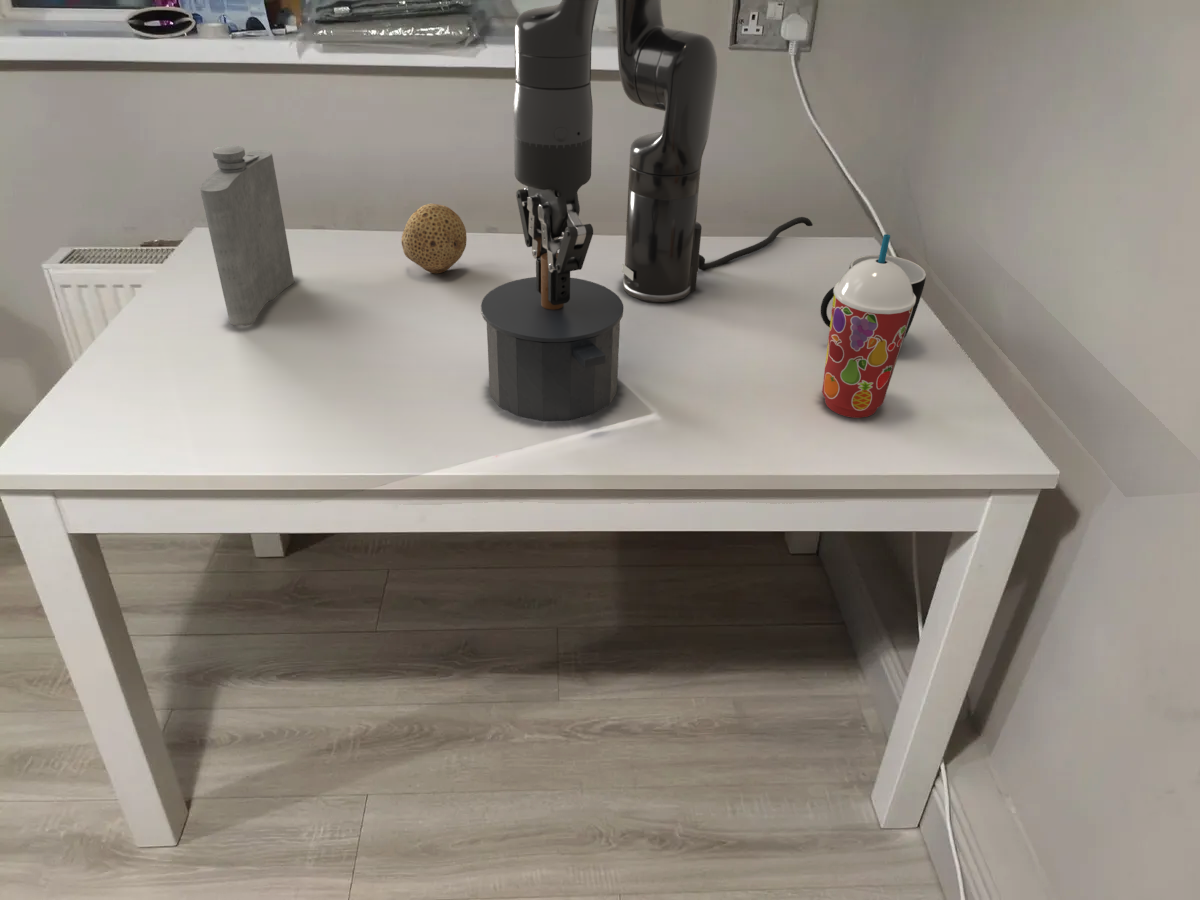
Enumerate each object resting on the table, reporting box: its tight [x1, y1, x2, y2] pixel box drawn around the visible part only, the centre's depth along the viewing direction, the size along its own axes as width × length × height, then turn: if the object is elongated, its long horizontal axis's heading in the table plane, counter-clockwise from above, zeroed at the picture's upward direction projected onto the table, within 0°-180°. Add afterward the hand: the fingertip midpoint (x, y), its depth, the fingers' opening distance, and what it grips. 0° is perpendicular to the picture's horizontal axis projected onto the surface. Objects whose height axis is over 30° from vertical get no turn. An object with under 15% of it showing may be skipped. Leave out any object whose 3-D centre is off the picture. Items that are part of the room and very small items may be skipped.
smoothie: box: [821, 233, 916, 419], centre depth 97 cm, size 8×8×20 cm
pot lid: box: [480, 252, 624, 342], centre depth 96 cm, size 15×15×7 cm
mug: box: [820, 254, 927, 341], centre depth 112 cm, size 12×9×10 cm
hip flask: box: [199, 144, 295, 327], centre depth 115 cm, size 16×4×20 cm, turn 175°
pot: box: [486, 320, 621, 422], centre depth 101 cm, size 14×20×10 cm
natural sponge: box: [400, 203, 468, 274], centre depth 126 cm, size 9×9×10 cm
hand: (552, 296), depth 97 cm, fingers closed on pot lid, 2 cm apart
